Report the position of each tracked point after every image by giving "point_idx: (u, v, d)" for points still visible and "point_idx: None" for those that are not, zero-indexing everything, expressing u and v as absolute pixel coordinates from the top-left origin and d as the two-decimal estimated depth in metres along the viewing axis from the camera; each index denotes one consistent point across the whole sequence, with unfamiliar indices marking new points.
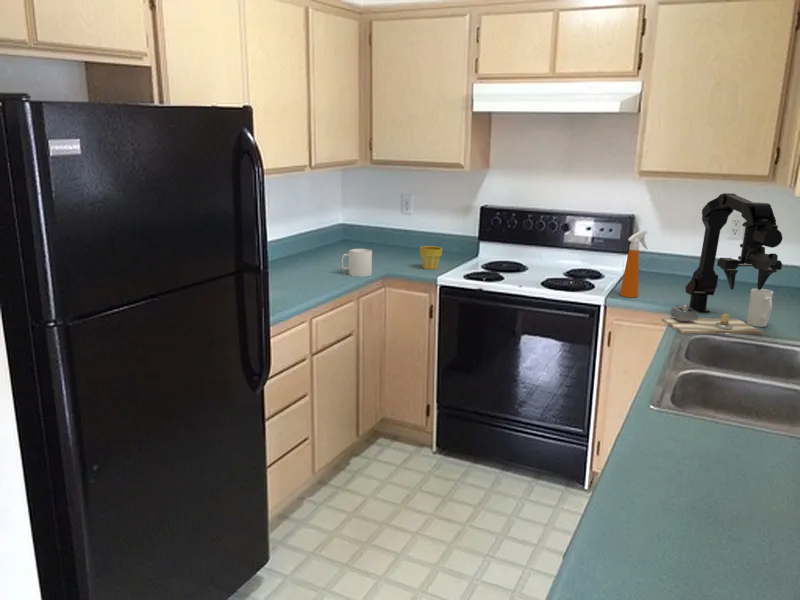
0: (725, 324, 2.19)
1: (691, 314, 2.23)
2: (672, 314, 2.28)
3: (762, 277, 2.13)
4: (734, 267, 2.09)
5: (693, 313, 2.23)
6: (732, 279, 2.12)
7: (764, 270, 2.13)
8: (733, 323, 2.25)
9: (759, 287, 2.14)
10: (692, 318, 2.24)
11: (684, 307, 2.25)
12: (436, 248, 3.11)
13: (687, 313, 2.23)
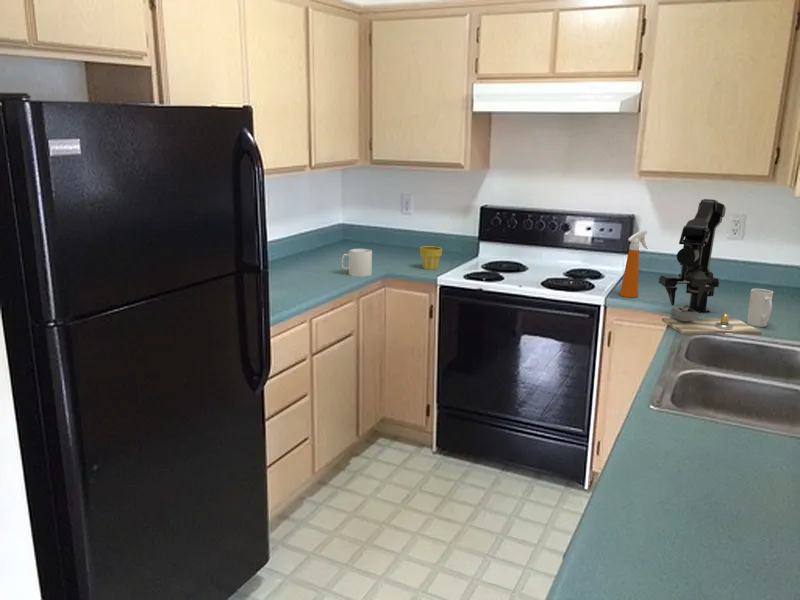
0: (725, 324, 2.19)
1: (691, 314, 2.23)
2: (672, 314, 2.28)
3: (701, 294, 2.25)
4: (673, 284, 2.21)
5: (693, 313, 2.23)
6: (672, 296, 2.24)
7: (703, 287, 2.24)
8: (733, 323, 2.25)
9: (698, 303, 2.26)
10: (692, 318, 2.24)
11: (684, 307, 2.25)
12: (436, 248, 3.11)
13: (687, 313, 2.23)
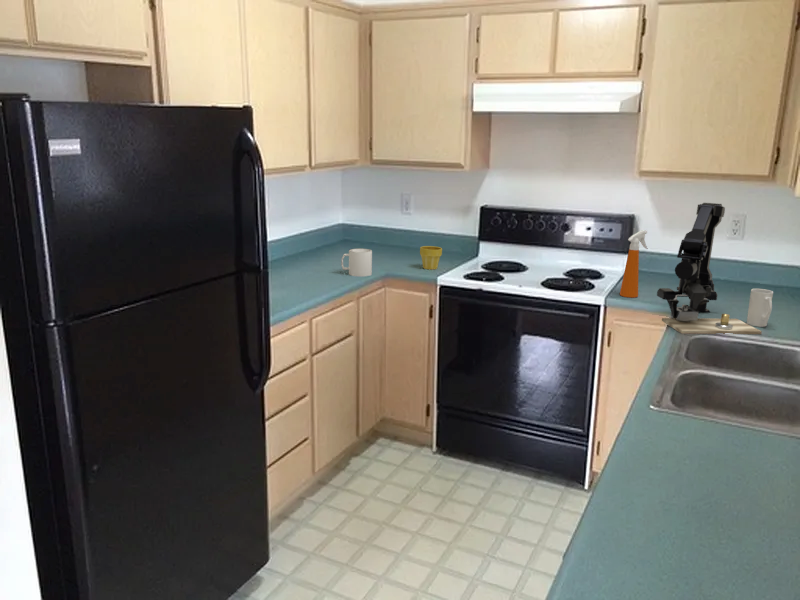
0: (725, 324, 2.19)
1: (691, 314, 2.23)
2: None
3: (696, 307, 2.26)
4: (671, 298, 2.22)
5: (693, 313, 2.23)
6: (674, 309, 2.25)
7: (697, 300, 2.25)
8: (733, 323, 2.25)
9: None
10: (692, 318, 2.24)
11: (684, 307, 2.25)
12: (436, 248, 3.11)
13: (687, 313, 2.23)
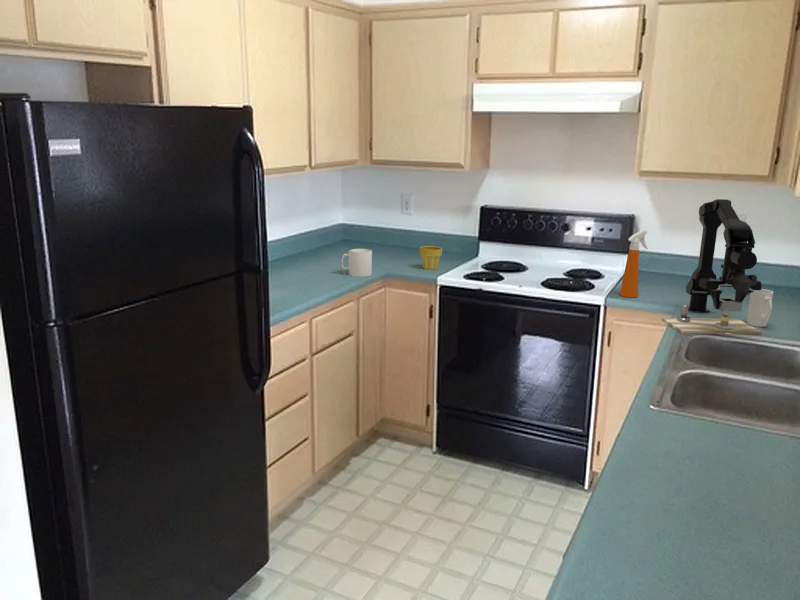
0: (725, 324, 2.19)
1: (735, 305, 2.15)
2: None
3: (739, 297, 2.17)
4: (715, 288, 2.13)
5: (737, 304, 2.15)
6: (717, 299, 2.16)
7: (741, 290, 2.17)
8: (733, 323, 2.25)
9: None
10: (736, 309, 2.15)
11: (684, 307, 2.25)
12: (436, 248, 3.11)
13: (731, 304, 2.15)
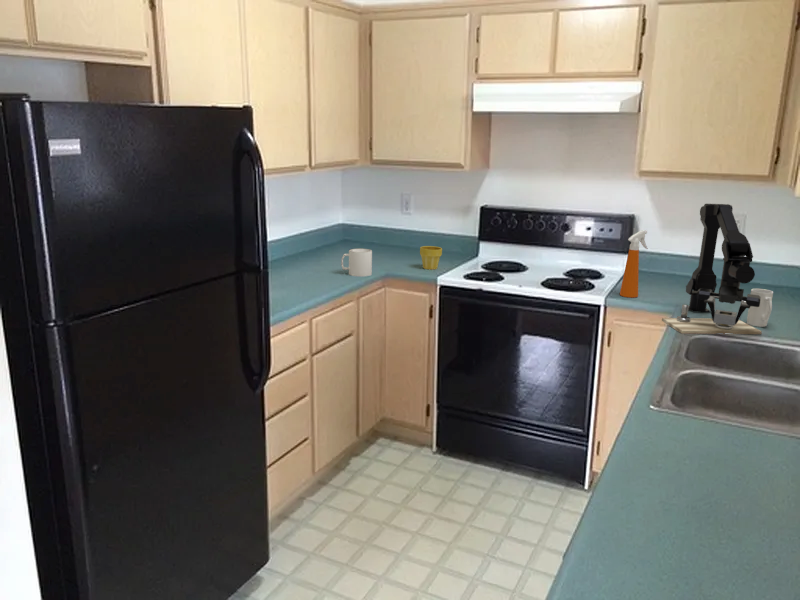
0: (725, 324, 2.19)
1: (727, 318, 2.16)
2: None
3: (738, 312, 2.16)
4: (705, 298, 2.18)
5: (730, 317, 2.15)
6: (711, 310, 2.20)
7: (740, 305, 2.16)
8: None
9: None
10: (728, 322, 2.16)
11: (684, 307, 2.25)
12: (436, 248, 3.11)
13: (722, 316, 2.16)
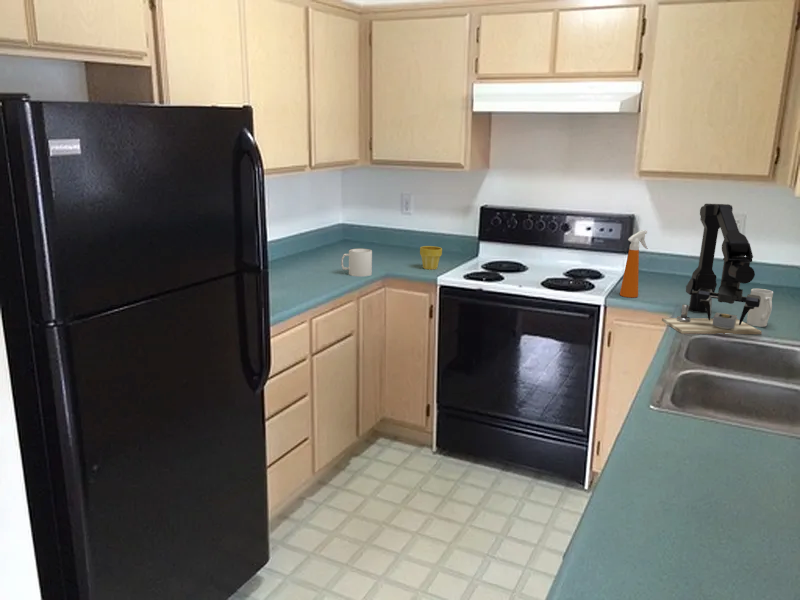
0: None
1: (726, 321, 2.16)
2: None
3: (742, 312, 2.16)
4: (704, 298, 2.18)
5: (729, 320, 2.16)
6: (707, 310, 2.21)
7: (744, 306, 2.15)
8: None
9: None
10: (727, 325, 2.16)
11: (684, 307, 2.25)
12: (436, 248, 3.11)
13: (722, 319, 2.17)
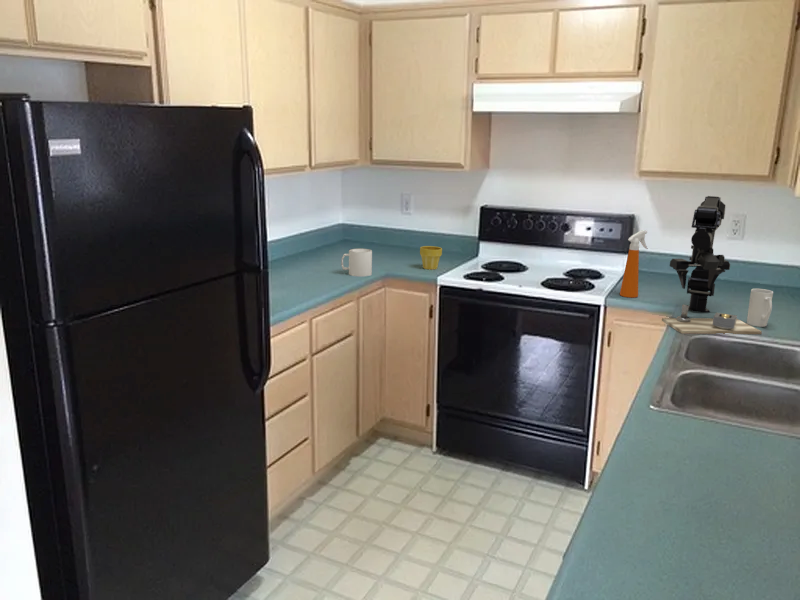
0: None
1: (726, 321, 2.16)
2: None
3: (712, 277, 2.26)
4: (685, 267, 2.22)
5: (729, 320, 2.16)
6: (683, 279, 2.25)
7: (714, 270, 2.26)
8: None
9: (709, 286, 2.28)
10: (727, 325, 2.16)
11: (684, 307, 2.25)
12: (436, 248, 3.11)
13: (722, 319, 2.17)
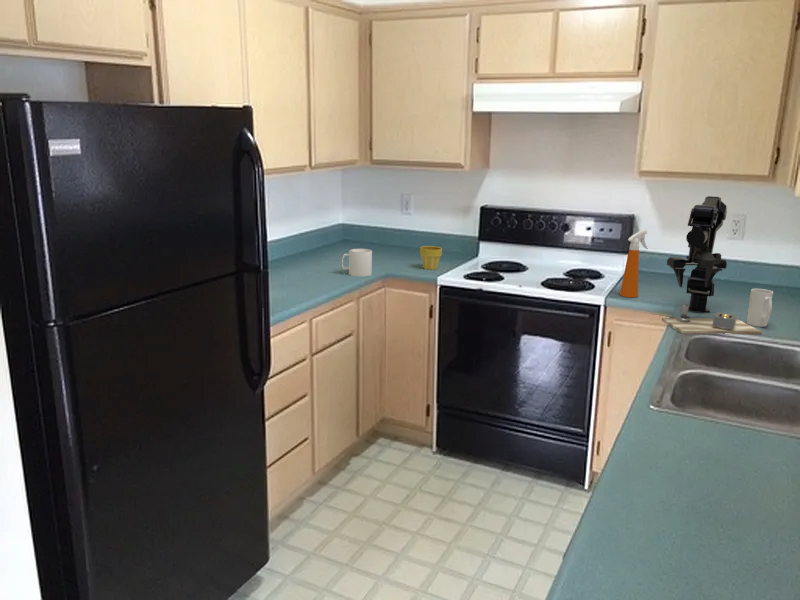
0: None
1: (726, 321, 2.16)
2: None
3: (709, 275, 2.27)
4: (681, 266, 2.23)
5: (729, 320, 2.16)
6: (680, 277, 2.26)
7: (710, 269, 2.27)
8: None
9: (706, 285, 2.28)
10: (727, 325, 2.16)
11: (684, 307, 2.25)
12: (436, 248, 3.11)
13: (722, 319, 2.17)
